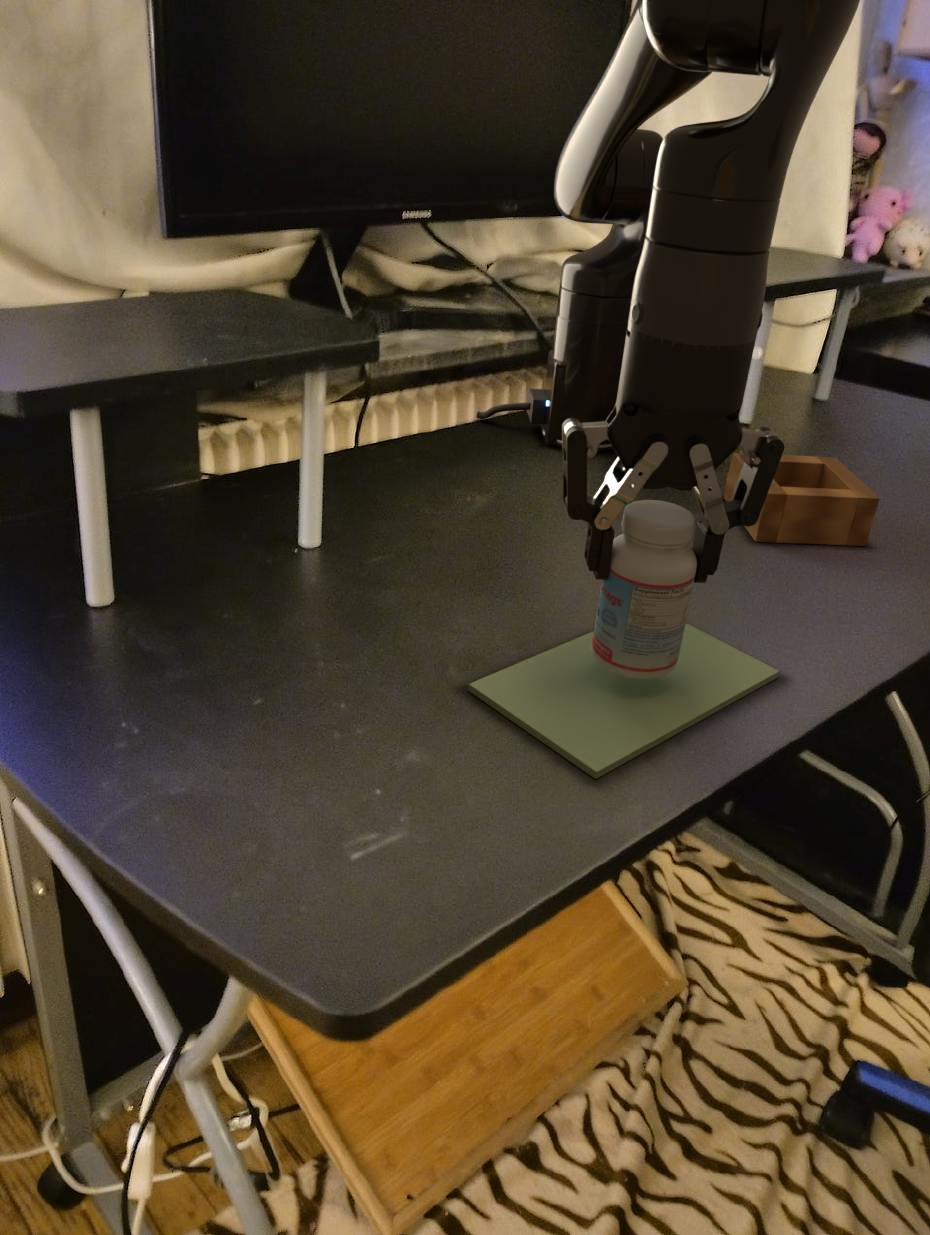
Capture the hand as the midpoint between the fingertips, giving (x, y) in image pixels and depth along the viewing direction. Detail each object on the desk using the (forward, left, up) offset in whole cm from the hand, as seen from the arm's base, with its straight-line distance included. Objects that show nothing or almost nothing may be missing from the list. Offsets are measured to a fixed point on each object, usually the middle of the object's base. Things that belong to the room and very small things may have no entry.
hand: (647, 575), depth 66 cm
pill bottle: (0, 0, -7) cm, 7 cm away
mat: (0, 0, -9) cm, 9 cm away
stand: (+23, +31, -9) cm, 40 cm away
